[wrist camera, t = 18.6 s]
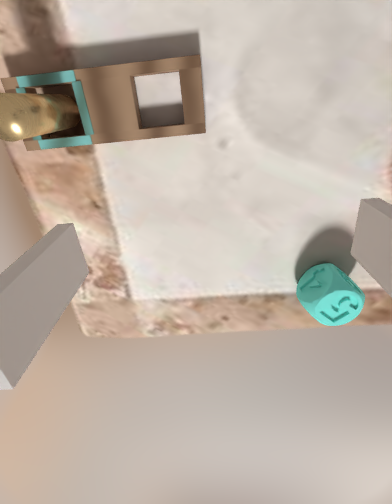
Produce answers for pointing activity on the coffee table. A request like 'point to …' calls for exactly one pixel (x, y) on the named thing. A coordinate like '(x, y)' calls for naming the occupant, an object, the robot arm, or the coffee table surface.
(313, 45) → the coffee table surface
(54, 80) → the walnut rail
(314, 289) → the decorative dice
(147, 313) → the coffee table surface
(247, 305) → the coffee table surface
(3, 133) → the brass peg
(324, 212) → the coffee table surface
